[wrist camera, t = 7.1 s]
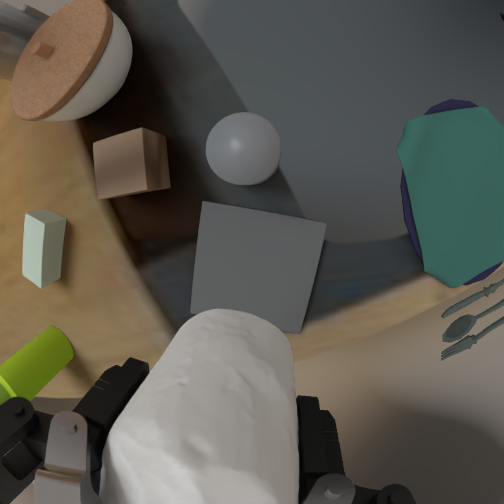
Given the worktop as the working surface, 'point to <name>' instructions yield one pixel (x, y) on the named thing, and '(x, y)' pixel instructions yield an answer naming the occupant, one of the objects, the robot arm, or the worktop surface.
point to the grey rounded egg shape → (243, 149)
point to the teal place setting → (456, 202)
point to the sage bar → (43, 246)
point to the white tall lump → (210, 420)
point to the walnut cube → (131, 164)
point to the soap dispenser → (34, 365)
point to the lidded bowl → (72, 64)
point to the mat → (256, 263)
